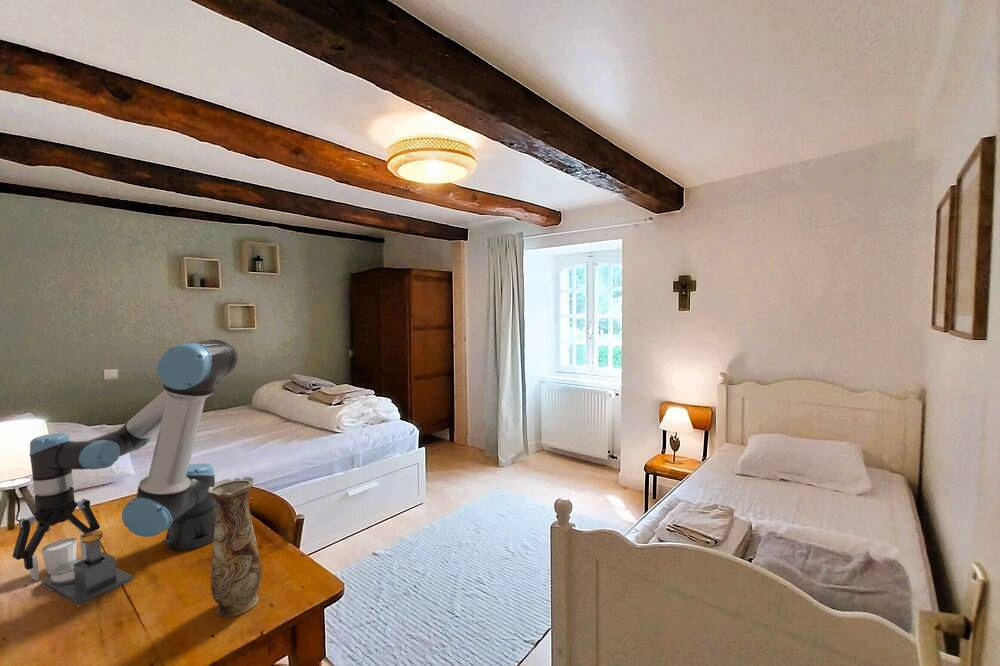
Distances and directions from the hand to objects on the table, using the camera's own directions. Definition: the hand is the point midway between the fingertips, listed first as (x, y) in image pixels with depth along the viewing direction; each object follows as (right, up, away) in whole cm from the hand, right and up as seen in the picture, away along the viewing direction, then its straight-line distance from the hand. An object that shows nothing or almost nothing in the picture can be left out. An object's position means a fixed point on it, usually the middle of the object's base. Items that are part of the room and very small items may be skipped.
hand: (61, 567), depth 120 cm
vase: (+59, -1, -15) cm, 61 cm away
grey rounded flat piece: (+9, +1, -4) cm, 10 cm away
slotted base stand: (+13, 0, -6) cm, 15 cm away
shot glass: (0, 0, 0) cm, 0 cm away
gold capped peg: (+18, +5, -9) cm, 20 cm away
